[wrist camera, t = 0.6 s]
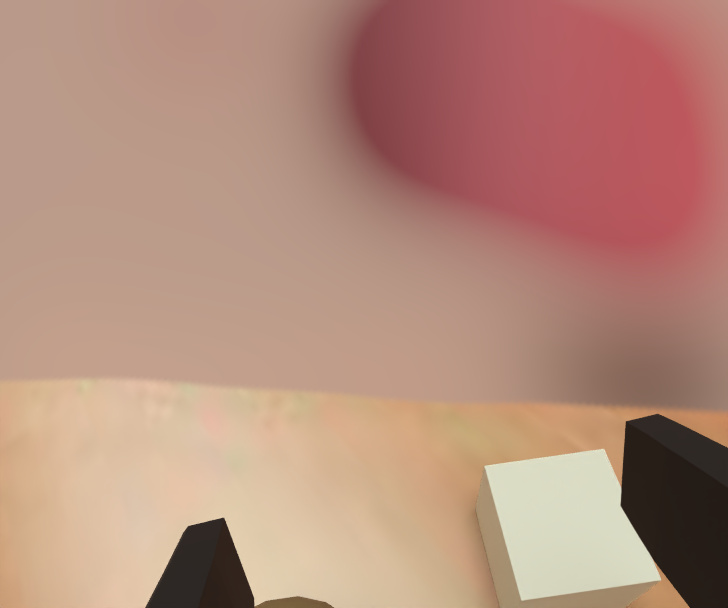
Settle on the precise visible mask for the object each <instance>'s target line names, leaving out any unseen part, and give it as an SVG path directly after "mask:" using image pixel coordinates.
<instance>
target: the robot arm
mask: <svg viewBox="0 0 728 608" xmlns="http://www.w3.org/2000/svg"><path fill="white" fill-rule="evenodd" d="M620 506H621V508H622V509H623V511H624V513H625V514H626V516H627V518H628V519H629V521H630V523H631V525H632V526H633V528H634V530H635V531H636V533H637V535H638V536H639V538H640V539H641V541H642V543H643V544H644V546H645V547H646V549H647V551H648V552H649V554H650V555H651V557H652V558H653V560H654V561H655V563H656V564H657V565H658V567H659V568H660V569H661V571H662V572H663V573H664V575H665V576H666V577H667V578H668V580H669V581H670V582H671V584H672V585H673V586H674V588H675V589H676V590H677V591H678V593H679V594H680V595H681V597H682V598H683V599H684V600H685V602H686V603H687V604H688V606H689V607H690V608H728V448H727V447H725V446H723V445H721V444H719V443H717V442H715V441H713V440H711V439H709V438H707V437H705V436H703V435H701V434H699V433H697V432H695V431H693V430H691V429H689V428H687V427H685V426H683V425H681V424H679V423H677V422H675V421H672V420H670V419H668V418H666V417H664V416H662V415H659V414H655V415H651V416H647V417H643V418H639V419H634V420H630V421H626V428H625V443H624V458H623V473H622V488H621V503H620ZM145 608H254V596H253V594H252V591H251V588H250V586H249V583H248V580H247V578H246V575H245V572H244V570H243V567H242V564H241V562H240V559H239V556H238V554H237V551H236V548H235V545H234V543H233V540H232V537H231V535H230V532H229V529H228V527H227V524H226V521H225V519H224V518H221V519H216V520H212V521H208V522H204V523H200V524H195V525H191V526H188V527H187V528H186V530H185V531H184V533H183V534H182V537H181V539H180V541H179V543H178V545H177V547H176V549H175V551H174V553H173V555H172V557H171V559H170V561H169V563H168V565H167V567H166V569H165V571H164V573H163V575H162V577H161V579H160V580H159V582H158V584H157V586H156V588H155V590H154V592H153V594H152V596H151V598H150V600H149V602H148V604H147V606H146V607H145Z"/></svg>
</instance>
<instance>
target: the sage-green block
mask: <svg viewBox="0 0 728 608" xmlns="http://www.w3.org/2000/svg"><path fill="white" fill-rule="evenodd" d="M620 503H621V487H620V484H619V482H618V480H617V478H616V475H615V473H614V471H613V468H612V466H611V464H610V462H609V459H608V457H607V455H606V452H605V450H604V449H599V450H592V451H585V452H578V453H571V454H564V455H557V456H550V457H543V458H536V459H529V460H522V461H515V462H508V463H501V464H494V465H487V466H484V470H483V475H482V479H481V484H480V489H479V493H478V498H477V502H476V507H475V511H476V515H477V519H478V523H479V527H480V531H481V535H482V539H483V543H484V547H485V551H486V555H487V559H488V563H489V567H490V571H491V575H492V579H493V583H494V587H495V591H496V595H497V599H498V603H499V607H500V608H626V607H627V606H628V605H629V604H631V603H632V602H633V601H635V600H636V599H637V598H639V597H640V596H641V595H643V594H644V593H645V592H647V591H648V590H649V589H651V588H652V587H653V586H654V585H656V584H657V583H658V582H660V581H661V578H660V576H659V573H658V571H657V569H656V567H655V564H654V562H653V560H652V557H651V555H650V554H649V552H648V551H647V549H646V547H645V546H644V544H643V543H642V541H641V539H640V538H639V536H638V535H637V533H636V531H635V530H634V528H633V526H632V525H631V523H630V521H629V519H628V518H627V516H626V514H625V513H624V511H623V509H622V508H621V506H620Z"/></svg>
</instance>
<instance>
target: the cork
mask: <svg viewBox="0 0 728 608" xmlns="http://www.w3.org/2000/svg"><path fill="white" fill-rule="evenodd" d="M254 608H334V607H332V606H331V605H329V604H328V603H326V602H322V601H318V600H313V599H308V598H303V597H299V596H297V597H290V598H283V599H276V600H270V601H265V602H263V603H261V604H259V605H257V606H255V607H254Z"/></svg>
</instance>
